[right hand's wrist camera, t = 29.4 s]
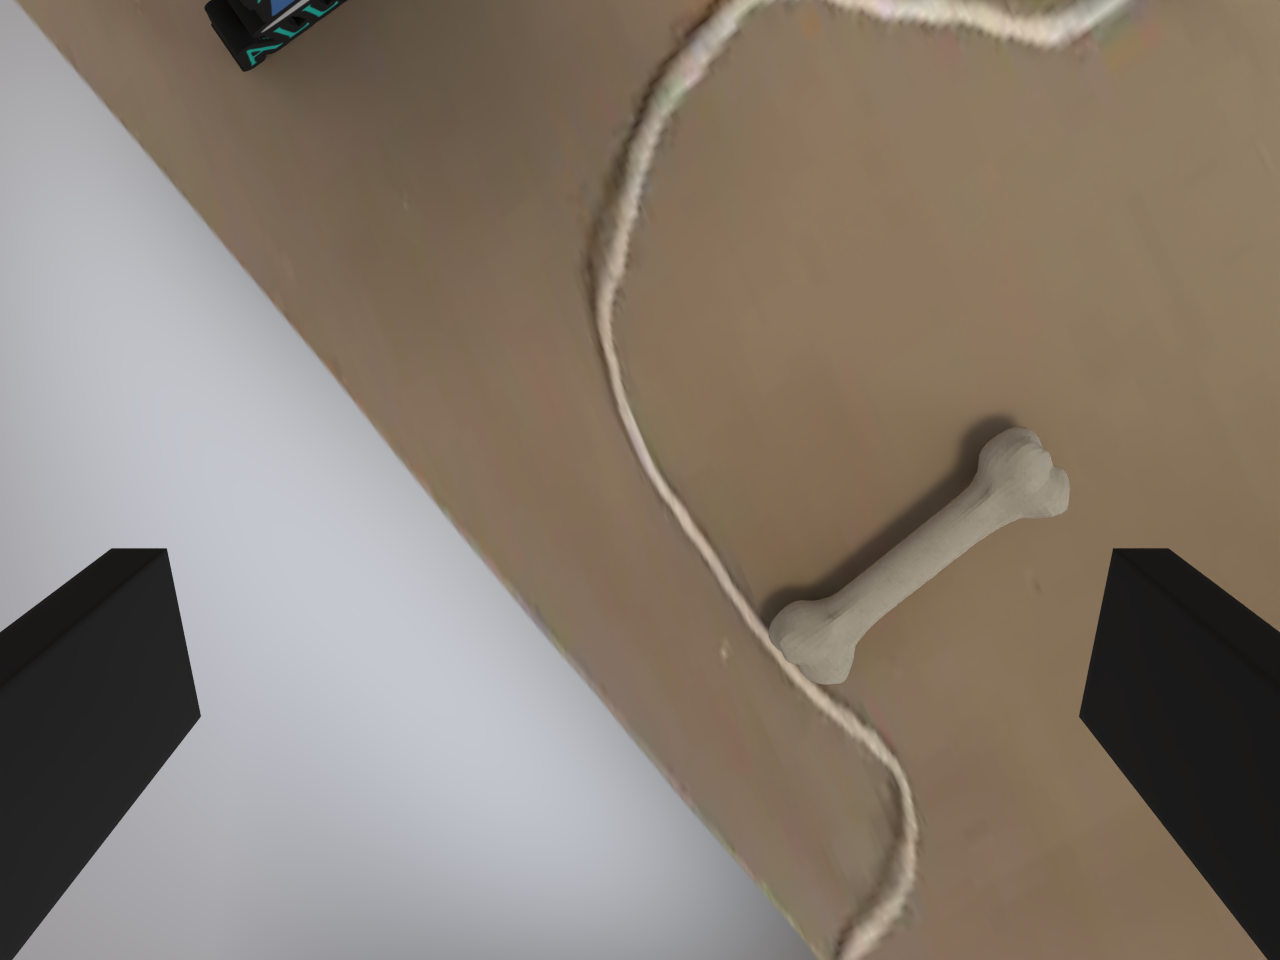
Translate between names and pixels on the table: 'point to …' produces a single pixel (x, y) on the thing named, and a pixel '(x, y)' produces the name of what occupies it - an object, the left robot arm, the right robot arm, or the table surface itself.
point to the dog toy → (923, 554)
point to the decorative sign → (263, 24)
